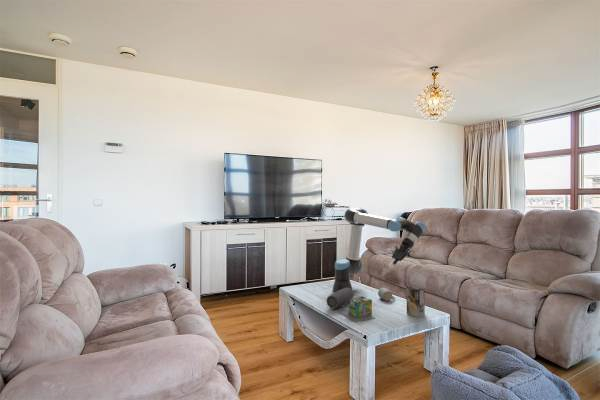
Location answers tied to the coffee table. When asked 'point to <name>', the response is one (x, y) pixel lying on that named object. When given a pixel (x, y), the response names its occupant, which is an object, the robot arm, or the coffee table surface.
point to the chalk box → (359, 306)
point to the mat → (353, 318)
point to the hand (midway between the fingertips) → (389, 267)
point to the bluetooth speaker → (339, 298)
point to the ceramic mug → (385, 294)
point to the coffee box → (415, 301)
